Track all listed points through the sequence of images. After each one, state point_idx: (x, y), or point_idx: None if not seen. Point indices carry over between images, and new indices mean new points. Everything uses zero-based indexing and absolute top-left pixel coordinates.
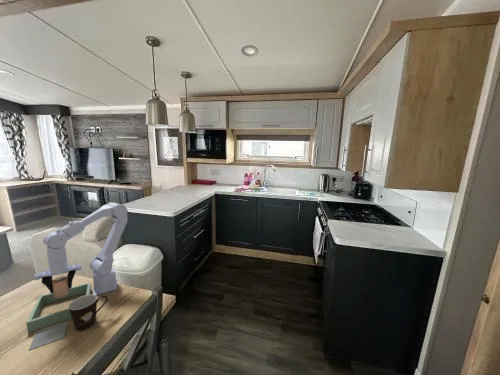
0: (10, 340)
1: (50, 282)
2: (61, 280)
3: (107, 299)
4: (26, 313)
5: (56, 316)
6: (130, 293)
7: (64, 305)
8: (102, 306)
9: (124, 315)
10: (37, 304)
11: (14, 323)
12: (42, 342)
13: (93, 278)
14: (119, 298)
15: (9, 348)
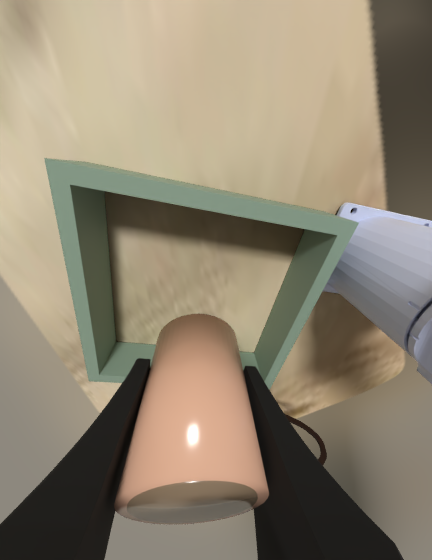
0: (69, 352)
1: (107, 532)
2: (204, 518)
3: (319, 439)
4: (45, 219)
5: None
6: (385, 346)
7: (200, 271)
8: (294, 421)
9: (313, 407)
10: (80, 280)
11: (29, 270)
12: None
13: (390, 317)
14: (349, 349)
15: (83, 377)
